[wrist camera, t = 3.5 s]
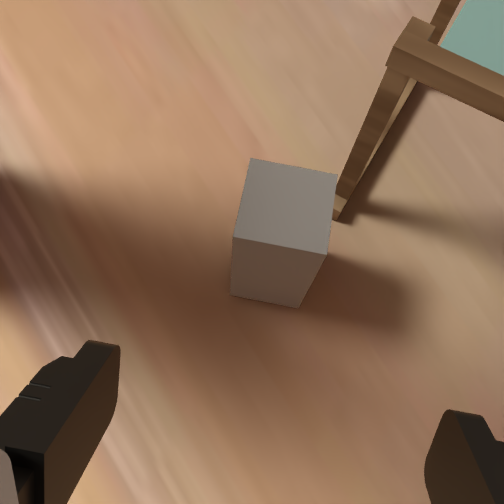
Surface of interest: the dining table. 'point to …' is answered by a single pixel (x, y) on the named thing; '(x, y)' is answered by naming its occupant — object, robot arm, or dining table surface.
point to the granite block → (281, 232)
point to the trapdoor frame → (404, 80)
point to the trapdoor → (479, 34)
